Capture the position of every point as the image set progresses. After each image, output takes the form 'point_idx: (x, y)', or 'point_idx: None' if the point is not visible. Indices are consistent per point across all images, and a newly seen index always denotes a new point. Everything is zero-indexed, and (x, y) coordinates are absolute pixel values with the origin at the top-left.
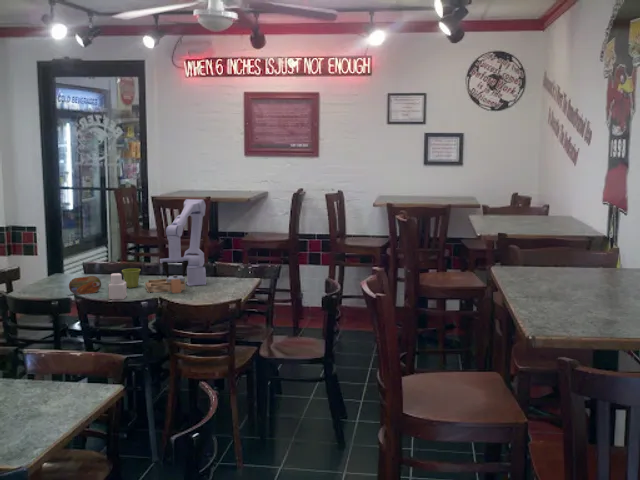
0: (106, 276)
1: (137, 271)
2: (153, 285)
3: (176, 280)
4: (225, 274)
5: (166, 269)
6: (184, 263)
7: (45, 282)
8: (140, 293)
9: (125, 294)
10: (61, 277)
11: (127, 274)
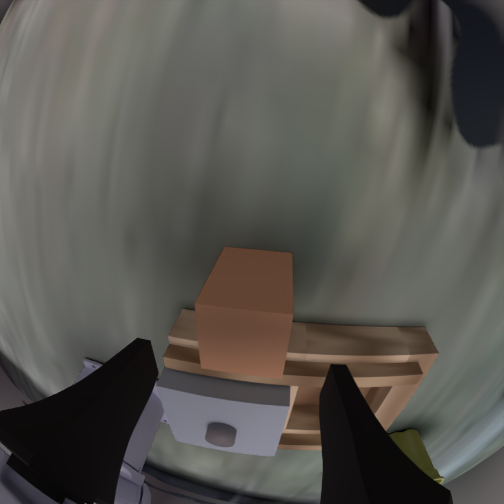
0: None
1: None
2: (406, 366)
3: (239, 325)
4: None
5: (386, 450)
6: (25, 449)
7: (476, 463)
8: (457, 328)
9: None
10: None
11: (435, 470)
